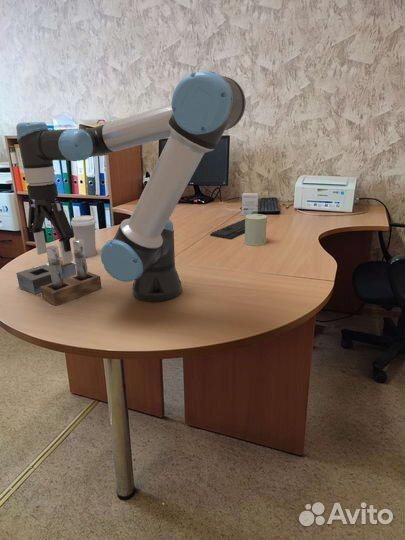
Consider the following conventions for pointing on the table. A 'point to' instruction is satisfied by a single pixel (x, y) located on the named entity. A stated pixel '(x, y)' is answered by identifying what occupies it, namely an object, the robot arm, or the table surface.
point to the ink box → (249, 203)
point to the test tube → (80, 259)
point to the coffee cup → (85, 233)
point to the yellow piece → (63, 263)
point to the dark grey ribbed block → (230, 230)
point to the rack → (70, 289)
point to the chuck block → (41, 277)
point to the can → (255, 229)
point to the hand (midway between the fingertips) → (54, 257)
